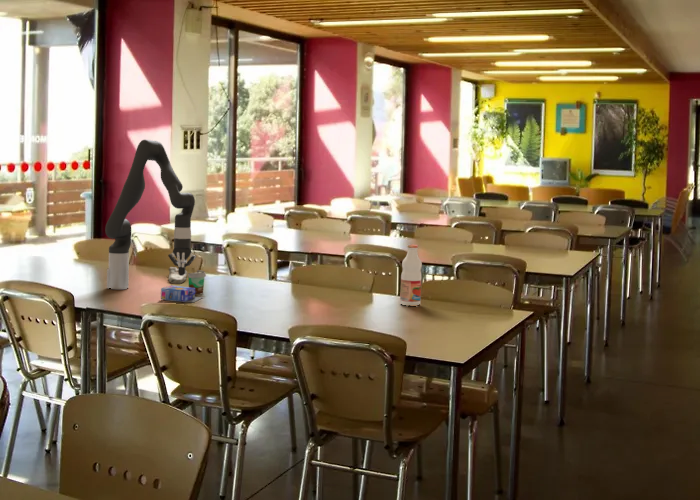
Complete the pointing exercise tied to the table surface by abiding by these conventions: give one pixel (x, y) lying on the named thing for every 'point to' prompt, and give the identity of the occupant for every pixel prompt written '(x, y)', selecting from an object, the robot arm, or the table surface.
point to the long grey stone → (176, 276)
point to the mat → (190, 300)
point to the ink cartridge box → (177, 293)
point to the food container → (197, 281)
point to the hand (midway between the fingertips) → (181, 275)
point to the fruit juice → (411, 278)
